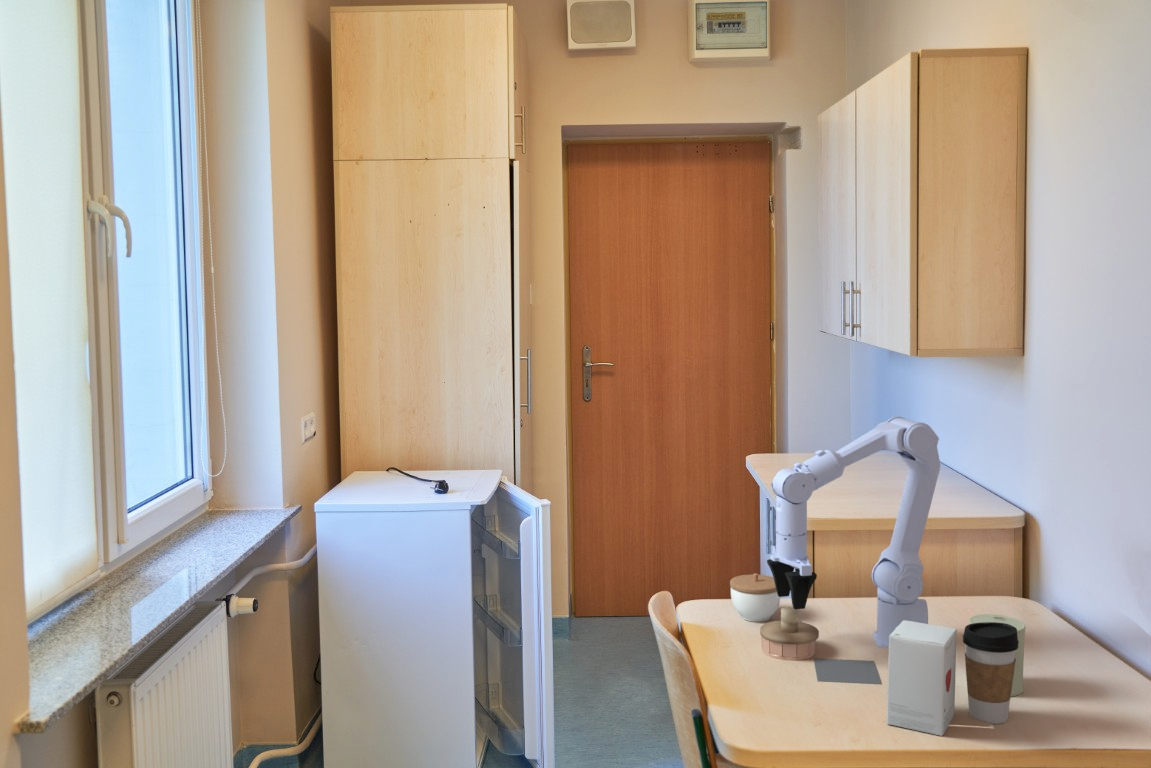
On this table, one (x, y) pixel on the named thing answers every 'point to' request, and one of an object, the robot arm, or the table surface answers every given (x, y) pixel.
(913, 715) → the supplement box
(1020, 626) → the can
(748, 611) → the lidded jar
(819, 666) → the mat
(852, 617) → the table surface
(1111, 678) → the table surface
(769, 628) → the lid
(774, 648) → the dish
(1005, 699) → the coffee cup
